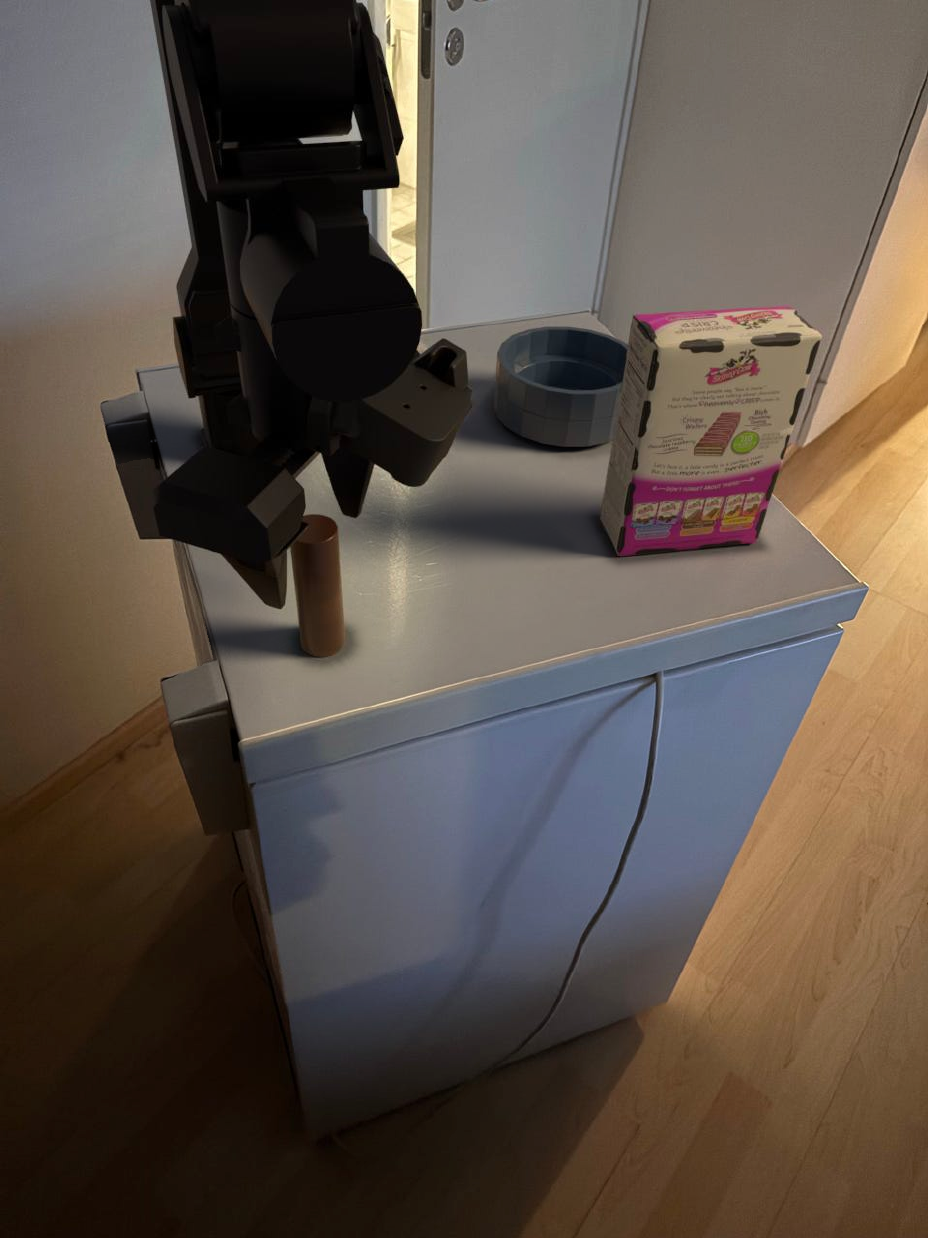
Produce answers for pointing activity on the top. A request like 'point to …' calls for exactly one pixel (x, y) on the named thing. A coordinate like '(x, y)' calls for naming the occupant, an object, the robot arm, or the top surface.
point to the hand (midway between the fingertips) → (315, 557)
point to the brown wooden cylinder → (319, 586)
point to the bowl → (560, 385)
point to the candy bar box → (703, 426)
